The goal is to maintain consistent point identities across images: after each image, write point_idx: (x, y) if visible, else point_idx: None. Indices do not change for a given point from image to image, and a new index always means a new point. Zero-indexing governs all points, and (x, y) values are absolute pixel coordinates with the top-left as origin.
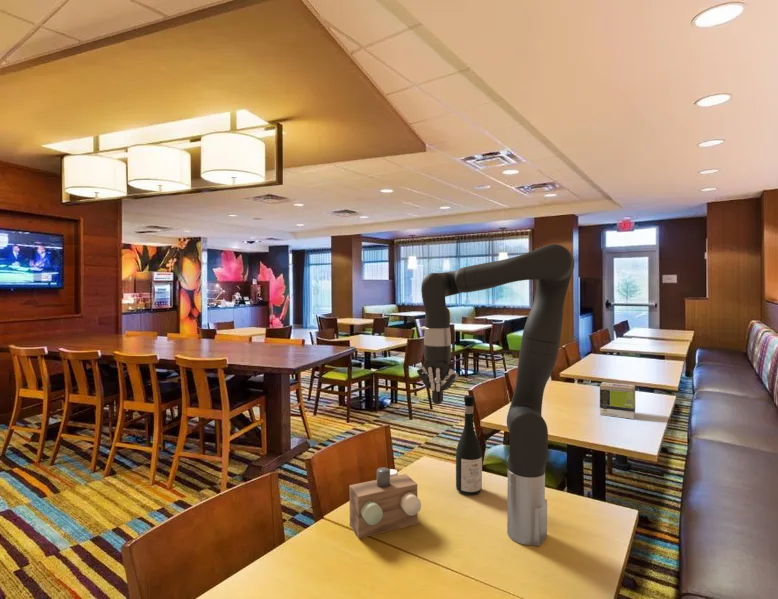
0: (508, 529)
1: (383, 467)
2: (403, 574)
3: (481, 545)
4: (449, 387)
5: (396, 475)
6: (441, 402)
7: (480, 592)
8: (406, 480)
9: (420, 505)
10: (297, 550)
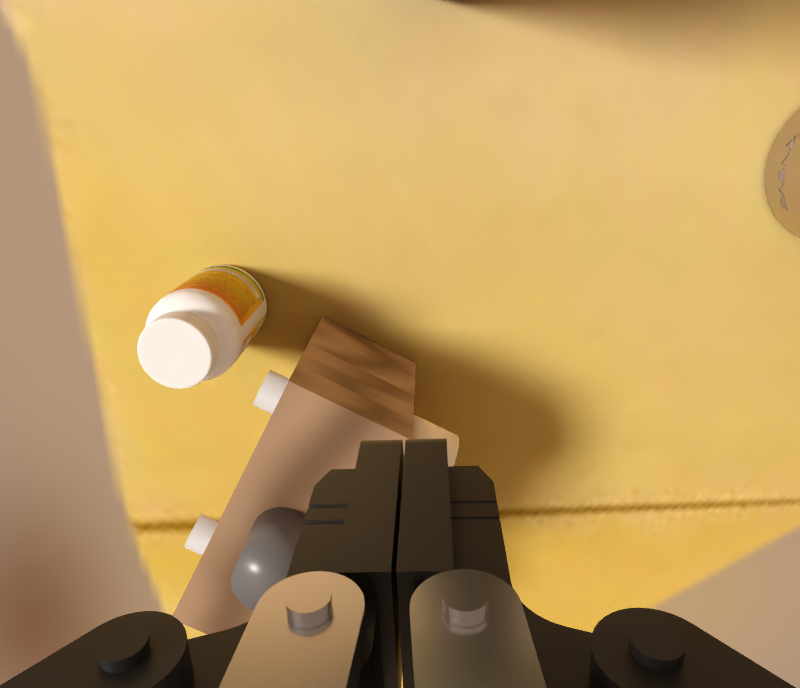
0: (792, 225)
1: (243, 561)
2: (540, 597)
3: (695, 340)
4: (714, 648)
5: (215, 347)
6: (446, 440)
7: (771, 541)
8: (342, 440)
9: (457, 439)
10: None
